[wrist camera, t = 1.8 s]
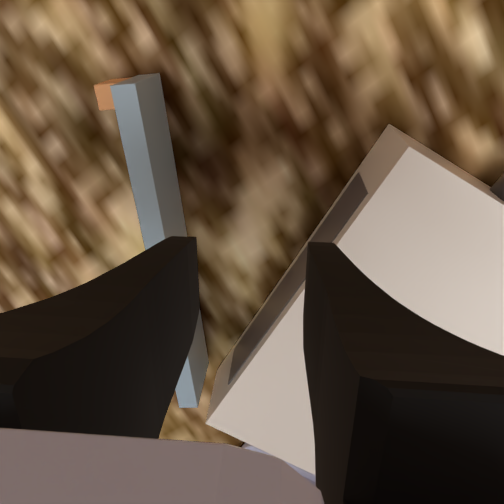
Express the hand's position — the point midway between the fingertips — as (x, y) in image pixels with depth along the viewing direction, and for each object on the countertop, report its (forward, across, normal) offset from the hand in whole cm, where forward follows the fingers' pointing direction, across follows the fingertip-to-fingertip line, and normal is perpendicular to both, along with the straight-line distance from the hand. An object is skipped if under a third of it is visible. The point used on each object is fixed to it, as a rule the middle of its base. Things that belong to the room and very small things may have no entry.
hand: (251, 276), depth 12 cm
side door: (+8, +4, +3) cm, 9 cm away
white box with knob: (+8, -5, +6) cm, 12 cm away
